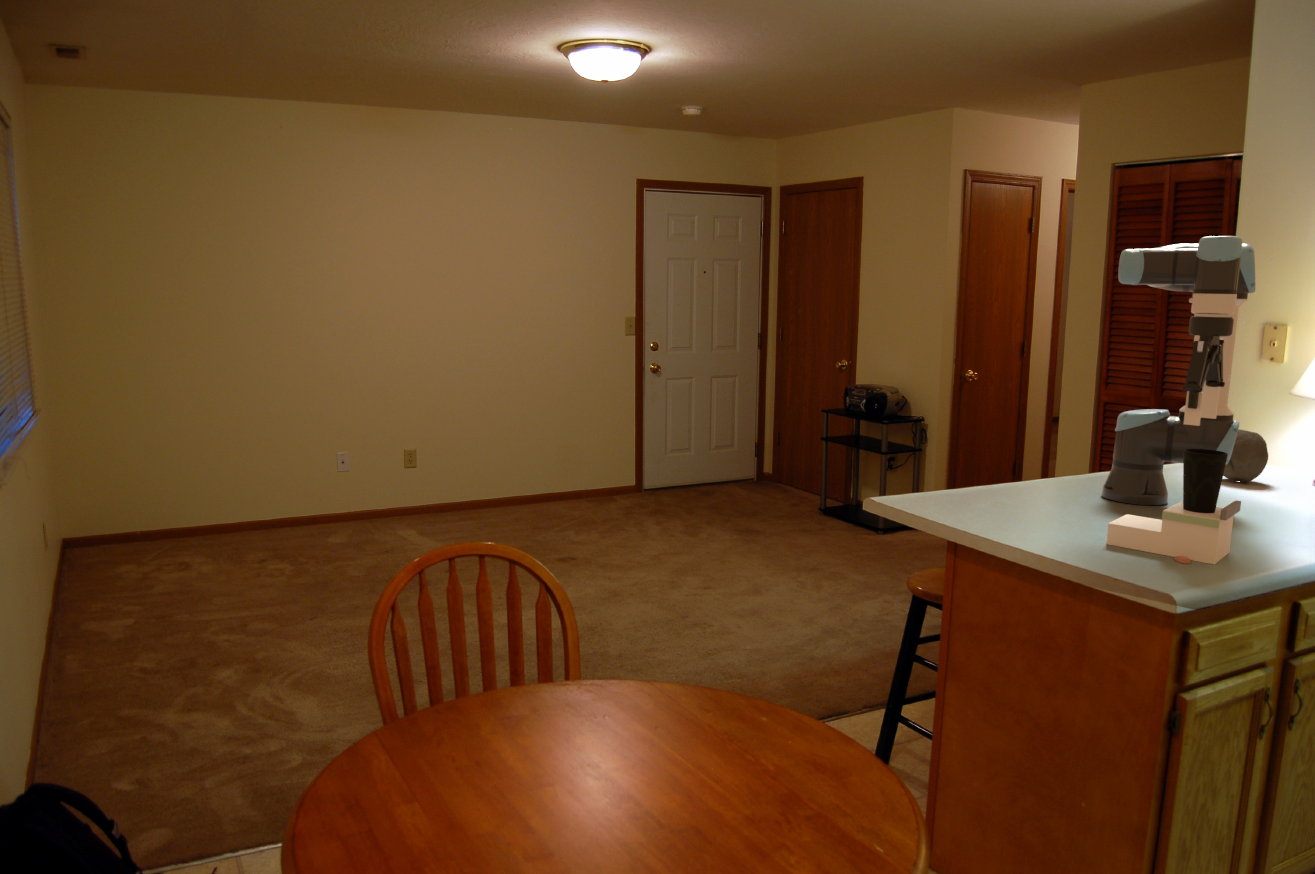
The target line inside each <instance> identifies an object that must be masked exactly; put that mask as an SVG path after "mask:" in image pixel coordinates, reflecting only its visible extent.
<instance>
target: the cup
mask: <svg viewBox="0 0 1315 874" xmlns="http://www.w3.org/2000/svg"><path fill="white" fill-rule="evenodd" d="M1227 456H1228V454H1227V453H1225V452H1222V451H1216V450H1209V449H1184V452H1183V463H1182V464H1183V466H1182V467H1183V468H1182V469H1183V471H1182V472H1183V476H1182V477H1183V479H1182V480H1183V481H1182V483H1183V484H1182V485H1183V486H1182V487H1183V488H1182V489H1183V493H1182V496H1183V497H1182V499H1183V500H1182V502H1183V509H1184V510H1187V511H1191V512H1197V513H1214V512H1215V509H1216V507H1217V503H1218V500H1219V496H1220V491H1221V487H1222V481H1223V478H1224V476H1223V474H1224V470H1225V465H1226V461H1227Z"/></svg>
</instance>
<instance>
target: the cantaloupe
mask: <svg viewBox="0 0 1315 874" xmlns="http://www.w3.org/2000/svg"><path fill="white" fill-rule="evenodd" d="M1267 446H1268V444H1267V442H1266V440H1265V439H1264V437H1263V436H1262V435H1261V434H1260V433H1258V432H1255V431H1254V432H1253V431H1250V430H1245V429H1239V428H1238V432H1237V436H1236V440H1235V444H1234V447H1233V451H1232V454H1231V457H1230V460H1229V462H1228V464H1226V465H1225V470H1224V474H1223V477H1224V478H1226V479H1227V480H1229V481H1232V482H1234V481H1240V482H1244V483H1247V482H1251V481H1254V480H1255V479H1256V478H1258V477H1259V476H1260V475H1261V474H1262V473H1263V471H1264V470H1265V468H1266V466H1267V464H1268V461H1269V452H1268V447H1267Z"/></svg>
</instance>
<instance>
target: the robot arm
mask: <svg viewBox="0 0 1315 874" xmlns="http://www.w3.org/2000/svg"><path fill="white" fill-rule="evenodd" d="M1117 274H1118V275H1117V277H1118V282H1119V283H1120V284H1122V285H1132V286H1142V285H1147V286H1149V287H1150V288H1151V287H1152V288H1156V289H1160V290H1161V289H1162V290H1166V291H1173V292H1188V293H1190V292H1191V297H1189V299H1188V302H1189V303H1190V304H1191V309H1190V312H1191V314H1193V315H1194V316H1191V317H1190V318H1189V326H1188V334H1189V335H1190V336H1194V337H1193V343H1192V345H1193V347H1192V352H1191V358H1190V362H1189V366H1188V371H1187V374H1186V377H1185V378H1186V379H1185V384H1184V386H1182V387H1181V388H1182V389H1181V390H1182V392H1186V398H1185V405H1183V406H1182V407H1181V408H1179V412H1178V416H1176V415H1175V416H1174V415H1171V413H1170V410H1169V409H1163V408H1162V409H1158V408H1157V409H1156V408H1151V409H1149V408H1147V409H1134V410H1128V411H1123V412H1121V413H1119V414H1118V416H1117V420H1116V426H1115V428H1114V432H1115V434H1114V435H1115V438H1114V447H1113V454H1112V463H1111V464H1112V465H1111V469H1110V471H1109V473H1108V475H1107V478H1106V480H1105V481H1104V484H1103V486H1102V489H1101V496H1102V497H1103V498H1105V499H1106V500H1109V501H1110V500H1111V501H1113V502H1114V501H1115V502H1119V503H1123V504H1125V503H1126V504H1131V505H1142V506H1159V505H1166V504H1167V503H1168V499H1169V491H1168V489H1167V485H1166V479H1165V477H1164V463H1165V462H1166V463H1173V464H1174V463H1176V464H1183V452H1184V449H1209V450H1216V451H1222V452H1225V453H1227V454H1228V456H1227V461H1226V464H1228V462H1229V460H1230V457H1231V454H1232V451H1233V447H1234V444H1235V440H1236V436H1237V432H1238V429H1239V428H1240V421H1238V420H1236V419H1234V414H1235V413H1234V412H1233V411H1232V410H1231V409H1230V407H1229V406H1228V403H1229V394H1230V384H1231V378H1232V377H1231V376H1232V368H1233V361H1234V352H1235V343H1236V335H1237V327H1238V318H1239V317H1238V316H1239V310H1240V309H1239V308H1240V307H1241V306H1242V305H1243V304H1245V303H1246V302H1248V297H1249V296H1248V295H1249V294H1252V293H1255V292H1256V259H1255V250H1254V247H1253V246H1252V245H1251V244H1249V243H1243V239H1242V238H1241V237H1240V236H1235V235H1218V236H1215V235H1213V236H1212V235H1209V236H1203V237H1201V238H1200V239H1199V241H1198V243H1175V244H1169V245H1164V246H1159V247H1153V248H1134V249H1133V248H1127V249H1123V250H1122V251H1121V254H1120V257H1119V261H1118V273H1117Z"/></svg>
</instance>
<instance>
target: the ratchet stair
mask: <svg viewBox="0 0 1315 874" xmlns="http://www.w3.org/2000/svg"><path fill="white" fill-rule="evenodd" d="M1241 507H1242V500H1236V499H1235V500H1234V501H1232V502H1231V503H1229V504H1227V505H1226V506H1224V507H1217V506H1216V509H1215V512H1214V513H1197V512H1191V511H1187V510H1184V509H1183V501H1179V502H1177V503H1175V504H1173V505H1171V506H1169V507H1167V508H1166V509H1163V510H1162V512H1161V513H1162V516H1161V519H1160V518H1159V519H1158V518H1153V517H1146V516H1140V515H1134V514H1128V513H1127V514H1124V515H1122V516H1120V517H1118V518H1116V519H1114V520H1113V521H1110V522H1108V524H1107V525H1108V526H1107V534H1106V545H1110V546H1114V547H1119V548H1126V549H1130V550H1136V551H1139V552H1140V551H1141V552H1146V553H1152V554H1157V555H1164V556H1168V557H1173V558H1174V560H1175V561H1177V562H1179V563H1181V564H1191V561H1193V562H1194V561H1195V562H1199V563H1205V564H1211V565H1216V564H1217V563H1218V562H1220V561H1221V560H1222V559H1223V558H1225V557H1226V556H1227V555H1229V553H1230V549H1231V540H1232V535H1233V534H1232V532H1233V525H1234V518H1235V515H1236V514H1238V513H1239V512H1240V511H1241Z"/></svg>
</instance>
